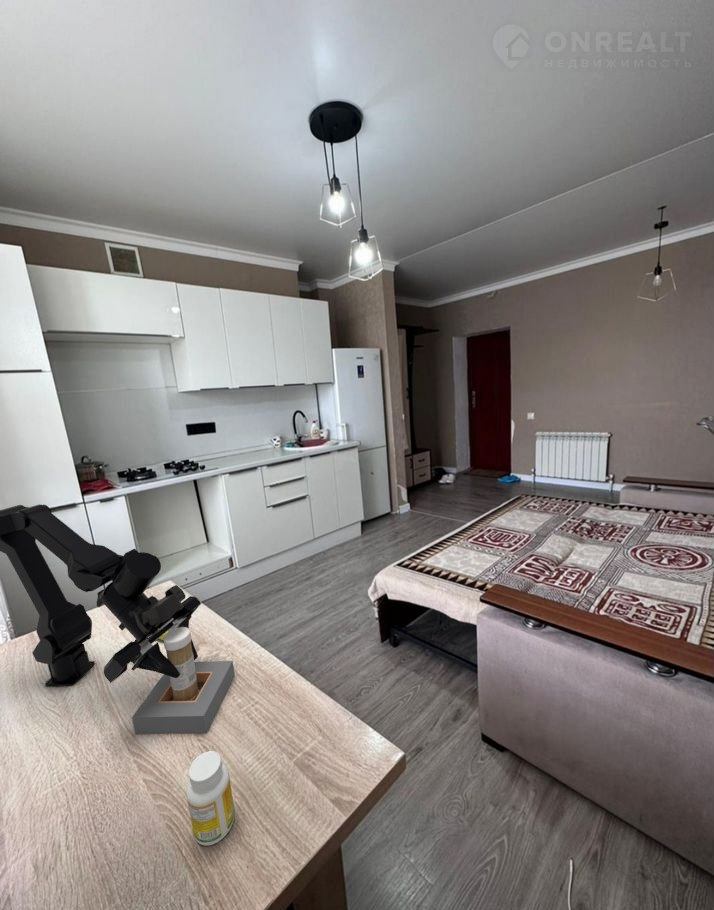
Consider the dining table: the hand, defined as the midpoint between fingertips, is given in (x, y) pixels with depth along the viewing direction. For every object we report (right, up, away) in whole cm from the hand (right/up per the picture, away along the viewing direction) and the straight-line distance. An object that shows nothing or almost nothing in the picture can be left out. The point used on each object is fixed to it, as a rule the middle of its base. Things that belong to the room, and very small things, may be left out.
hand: (187, 667), depth 69 cm
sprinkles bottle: (-1, -7, +1) cm, 7 cm away
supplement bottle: (+12, -11, -19) cm, 25 cm away
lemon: (-16, -6, +23) cm, 28 cm away
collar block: (-1, -8, +2) cm, 8 cm away
